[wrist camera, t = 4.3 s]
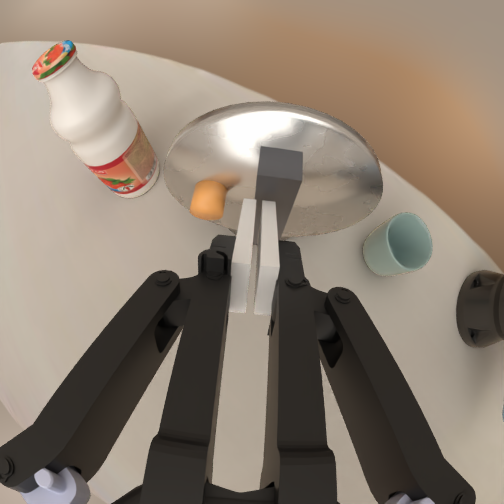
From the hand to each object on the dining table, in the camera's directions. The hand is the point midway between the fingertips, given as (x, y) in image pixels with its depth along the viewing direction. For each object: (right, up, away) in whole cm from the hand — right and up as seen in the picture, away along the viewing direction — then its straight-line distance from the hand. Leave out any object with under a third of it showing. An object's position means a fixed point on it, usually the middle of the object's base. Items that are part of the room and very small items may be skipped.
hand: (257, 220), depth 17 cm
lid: (+1, +3, +3) cm, 5 cm away
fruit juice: (-20, +11, +26) cm, 35 cm away
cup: (+20, -2, +24) cm, 31 cm away
